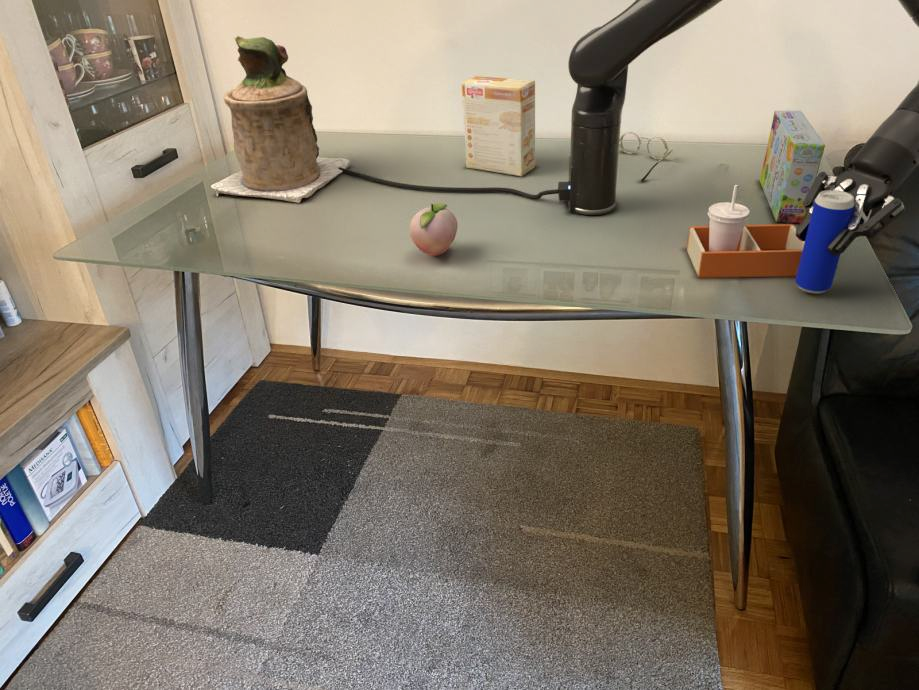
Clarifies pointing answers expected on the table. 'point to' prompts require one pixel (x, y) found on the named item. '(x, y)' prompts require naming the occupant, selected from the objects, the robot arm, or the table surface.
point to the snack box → (790, 165)
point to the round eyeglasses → (648, 150)
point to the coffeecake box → (499, 124)
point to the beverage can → (823, 240)
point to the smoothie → (726, 224)
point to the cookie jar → (273, 130)
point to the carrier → (748, 252)
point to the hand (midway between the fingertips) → (815, 245)
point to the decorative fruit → (433, 229)
